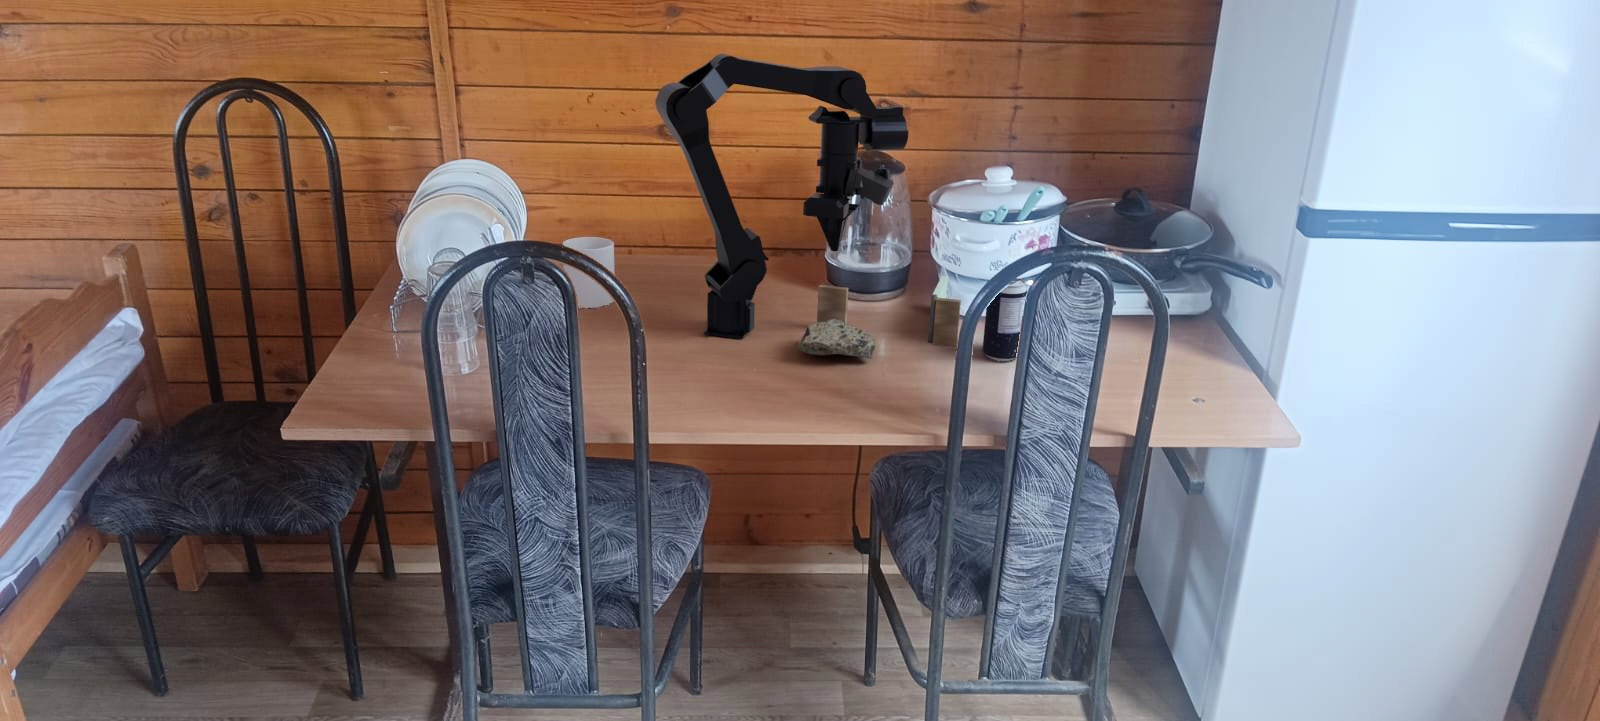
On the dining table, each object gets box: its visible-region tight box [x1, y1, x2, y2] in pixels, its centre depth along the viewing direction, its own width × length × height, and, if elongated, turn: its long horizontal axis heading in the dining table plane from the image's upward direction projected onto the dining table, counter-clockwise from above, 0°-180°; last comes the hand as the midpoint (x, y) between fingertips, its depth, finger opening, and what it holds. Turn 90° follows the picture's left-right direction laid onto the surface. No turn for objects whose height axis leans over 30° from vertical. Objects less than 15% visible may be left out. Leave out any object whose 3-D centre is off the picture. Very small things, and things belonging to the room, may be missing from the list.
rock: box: [797, 319, 876, 360], centre depth 170 cm, size 11×11×4 cm
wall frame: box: [816, 284, 962, 347], centre depth 178 cm, size 22×1×8 cm, turn 75°
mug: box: [562, 236, 615, 310], centre depth 191 cm, size 12×8×10 cm
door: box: [930, 275, 949, 311], centre depth 182 cm, size 12×1×7 cm, turn 166°
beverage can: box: [981, 278, 1028, 362], centre depth 171 cm, size 6×6×12 cm
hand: (834, 250), depth 182 cm, fingers closed
